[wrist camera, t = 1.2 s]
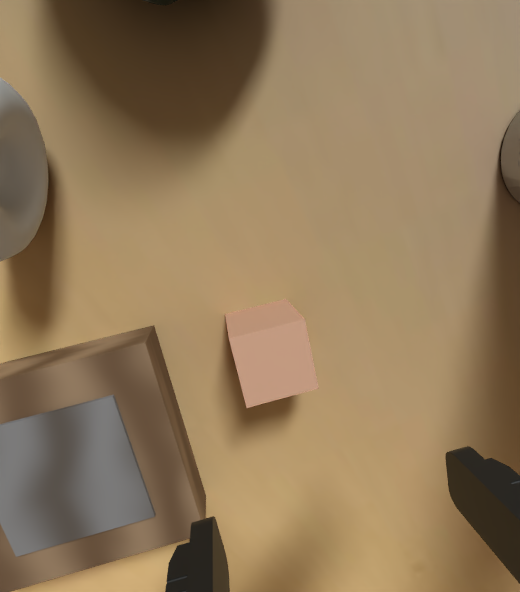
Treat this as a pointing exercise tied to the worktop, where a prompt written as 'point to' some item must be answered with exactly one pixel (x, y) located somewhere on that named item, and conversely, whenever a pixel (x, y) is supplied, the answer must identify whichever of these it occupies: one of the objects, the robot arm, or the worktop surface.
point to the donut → (20, 173)
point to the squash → (161, 1)
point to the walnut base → (91, 459)
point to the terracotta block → (271, 352)
